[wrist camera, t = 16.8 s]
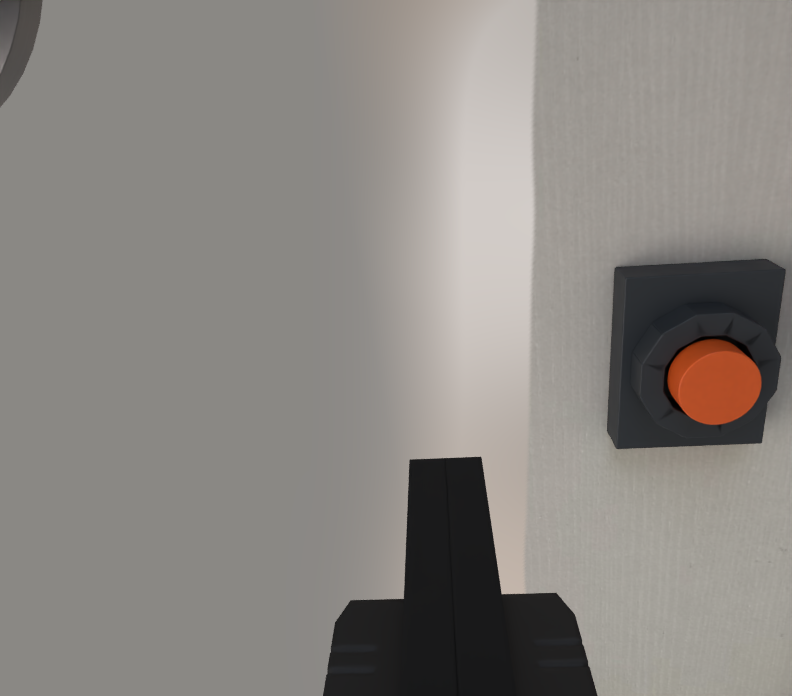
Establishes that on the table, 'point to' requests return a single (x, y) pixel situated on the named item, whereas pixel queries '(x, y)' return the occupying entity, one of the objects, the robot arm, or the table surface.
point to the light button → (714, 381)
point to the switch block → (680, 327)
